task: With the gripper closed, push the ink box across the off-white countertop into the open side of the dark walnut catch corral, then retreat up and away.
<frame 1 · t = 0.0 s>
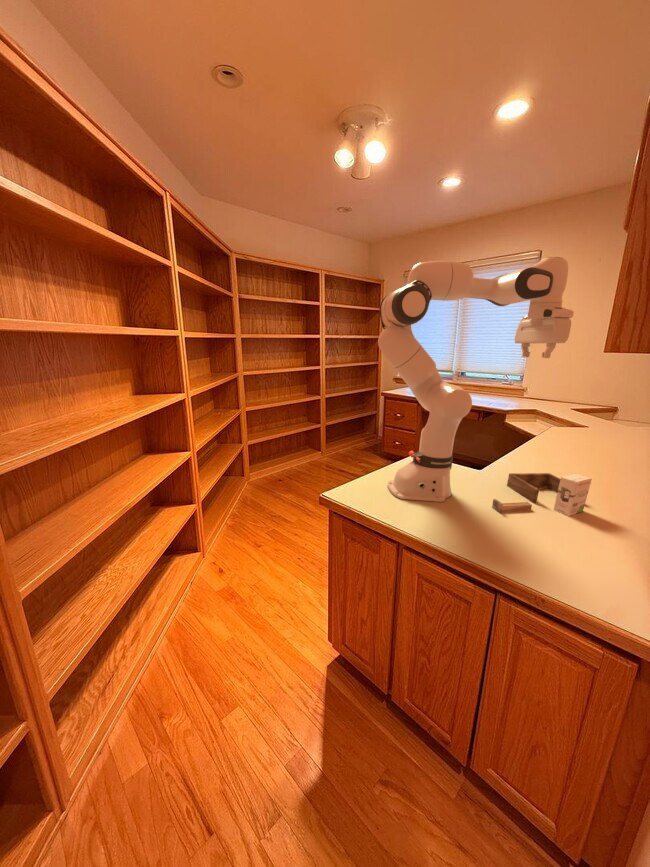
hand: (535, 357, 109), 48 cm above the worktop, fingers open, 8 cm apart
catch corral: (541, 494, 118), on the worktop
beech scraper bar: (512, 509, 106), on the worktop
ink box: (568, 511, 106), on the worktop
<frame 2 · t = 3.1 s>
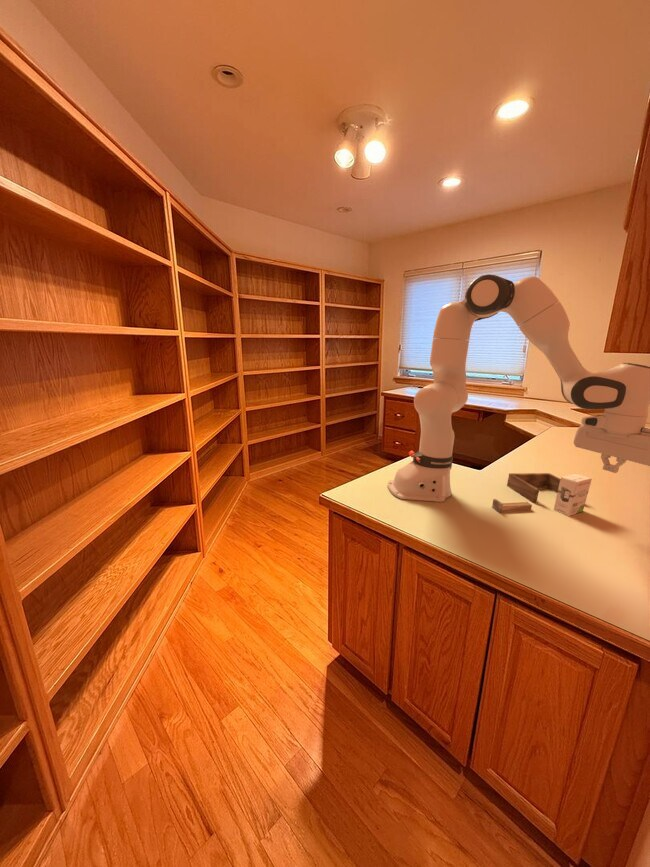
hand: (610, 471, 93), 18 cm above the worktop, fingers closed
nothing on the worktop moved.
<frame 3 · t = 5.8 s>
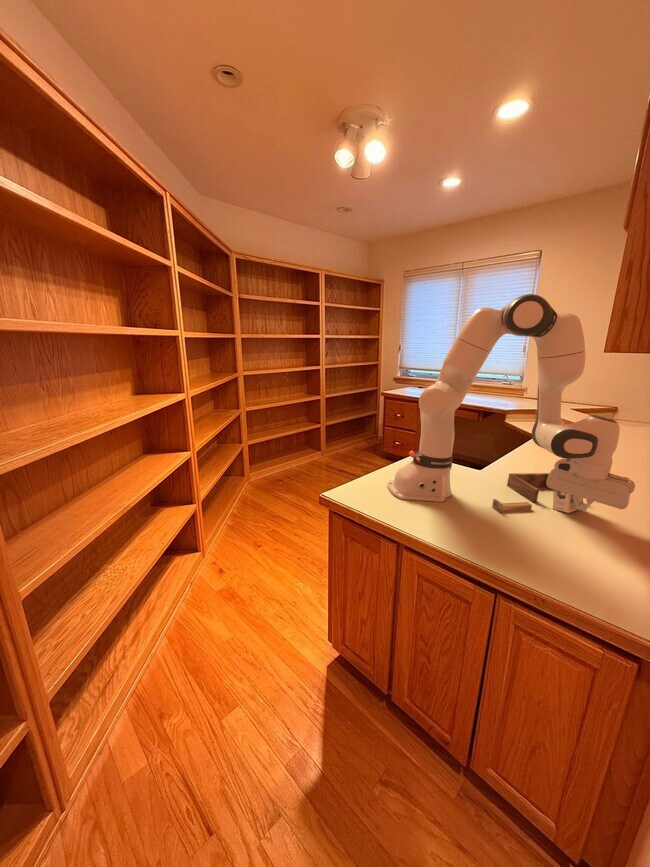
hand: (580, 510, 102), 2 cm above the worktop, fingers closed
ink box: (567, 509, 107), on the worktop, touching gripper
everything else where it was.
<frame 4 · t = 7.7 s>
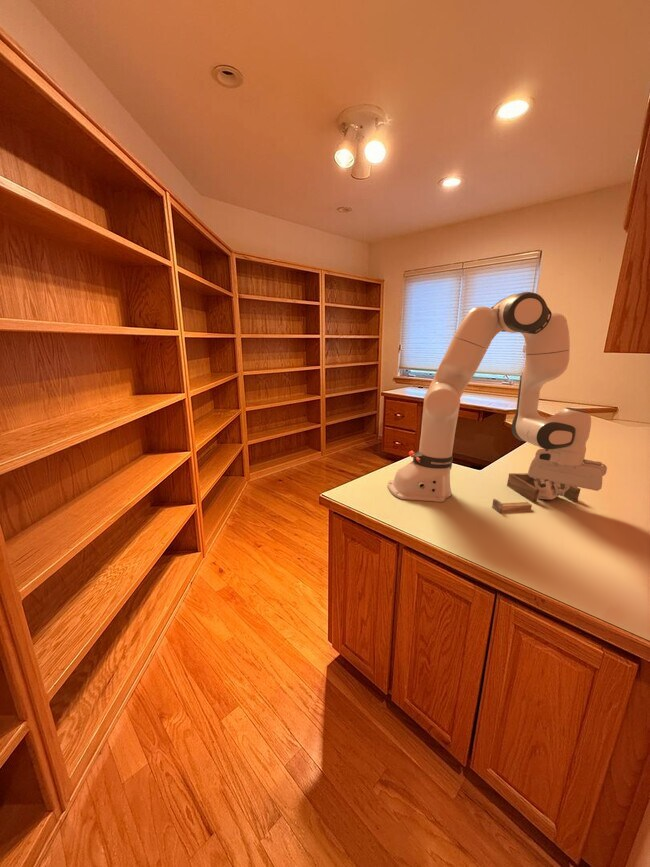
hand: (559, 495, 111), 3 cm above the worktop, fingers closed
ink box: (549, 497, 115), point 1 cm above the worktop, touching gripper
everything else where it was.
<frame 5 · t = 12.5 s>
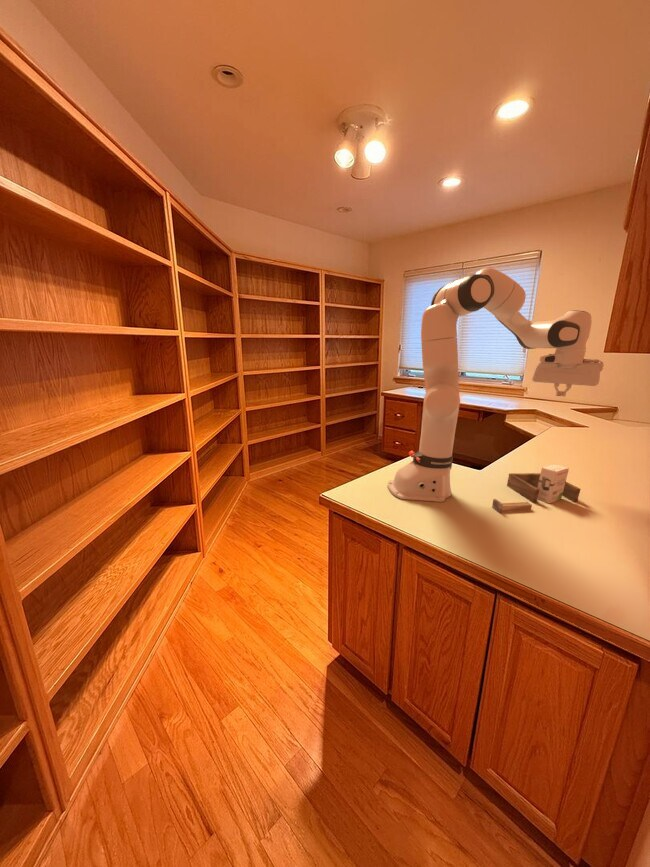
hand: (560, 396, 122), 34 cm above the worktop, fingers closed
ink box: (548, 499, 115), on the worktop
everything else where it was.
at the end: ink box inside the target area on the catch corral (2.9 cm from its centre), point 0.0 cm above the catch corral's base; ink box moved 8.7 cm from its start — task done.
